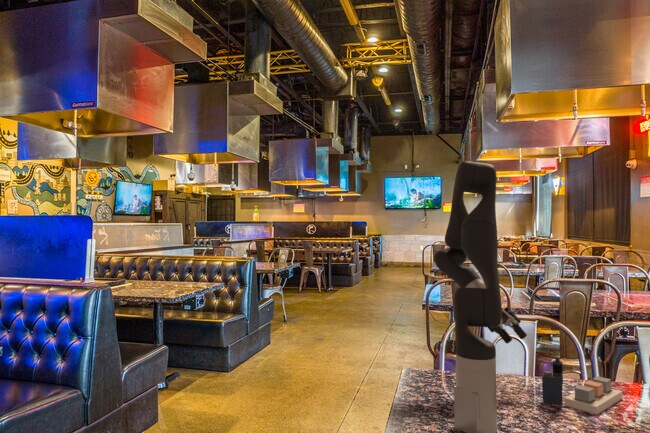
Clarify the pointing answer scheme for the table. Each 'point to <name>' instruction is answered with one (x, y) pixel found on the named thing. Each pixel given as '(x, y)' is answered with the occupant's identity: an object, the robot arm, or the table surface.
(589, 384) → the key mid
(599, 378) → the key right
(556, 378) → the vaping device
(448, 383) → the table surface
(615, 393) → the keypad base
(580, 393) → the key left
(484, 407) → the robot arm
